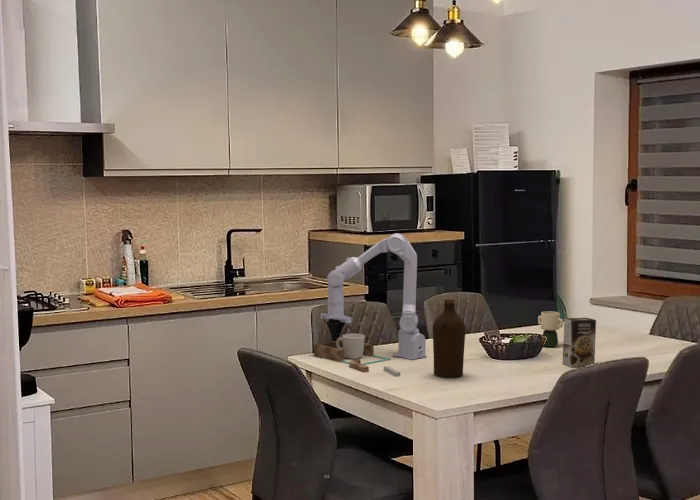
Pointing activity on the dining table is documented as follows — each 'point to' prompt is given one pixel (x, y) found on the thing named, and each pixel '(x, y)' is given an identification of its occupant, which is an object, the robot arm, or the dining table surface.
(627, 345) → the dining table surface
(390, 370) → the straight stick
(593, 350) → the cookie box
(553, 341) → the beige and green trophy
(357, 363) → the crook stick
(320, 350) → the cubby
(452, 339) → the olive oil
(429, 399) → the dining table surface
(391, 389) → the dining table surface
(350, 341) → the cup
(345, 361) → the bay
